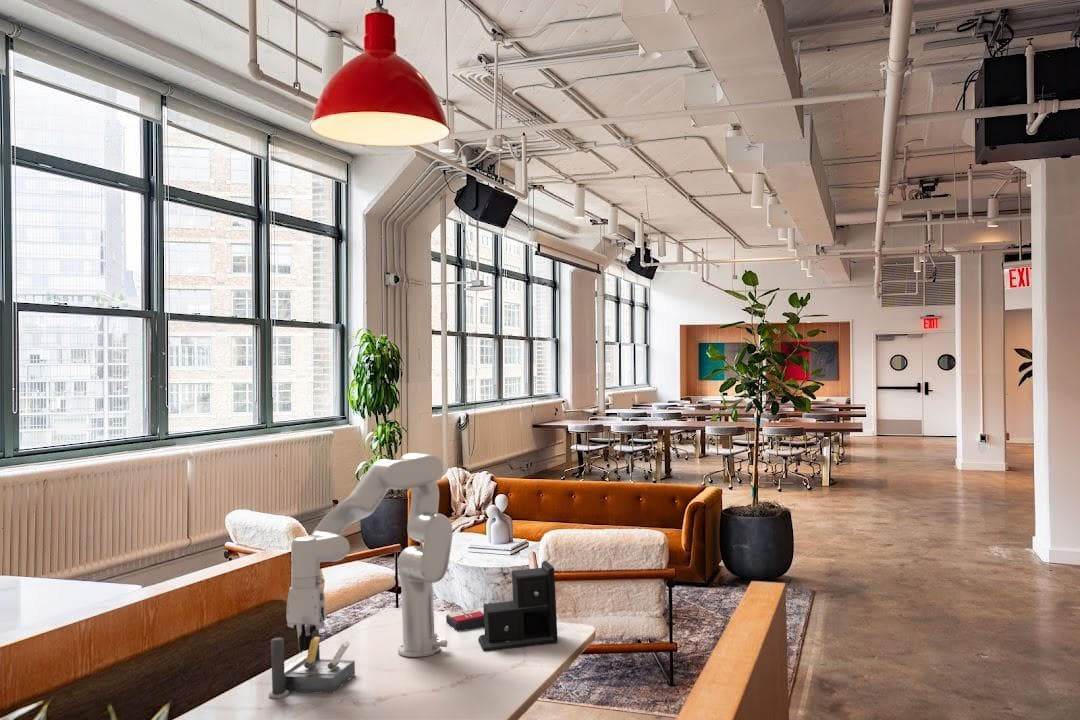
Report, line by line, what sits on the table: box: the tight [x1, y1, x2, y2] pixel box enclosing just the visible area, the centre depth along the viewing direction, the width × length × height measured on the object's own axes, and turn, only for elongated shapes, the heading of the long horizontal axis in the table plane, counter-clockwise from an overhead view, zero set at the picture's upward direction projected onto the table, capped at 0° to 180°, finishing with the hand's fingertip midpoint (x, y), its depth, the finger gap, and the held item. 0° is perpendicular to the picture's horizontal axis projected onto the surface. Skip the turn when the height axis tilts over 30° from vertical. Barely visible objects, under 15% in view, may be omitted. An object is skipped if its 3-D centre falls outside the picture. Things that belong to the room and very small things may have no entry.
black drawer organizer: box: [477, 560, 559, 652], centre depth 264 cm, size 23×11×24 cm, turn 103°
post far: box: [307, 629, 321, 659], centre depth 246 cm, size 5×5×15 cm
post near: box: [268, 637, 290, 700], centre depth 226 cm, size 5×5×15 cm
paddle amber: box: [304, 636, 321, 668], centre depth 235 cm, size 2×4×8 cm, turn 168°
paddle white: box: [328, 640, 351, 669], centre depth 233 cm, size 2×4×8 cm
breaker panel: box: [284, 656, 356, 694], centre depth 234 cm, size 16×14×5 cm
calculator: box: [445, 606, 484, 631], centre depth 286 cm, size 11×4×15 cm
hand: (305, 648), depth 235 cm, fingers closed
